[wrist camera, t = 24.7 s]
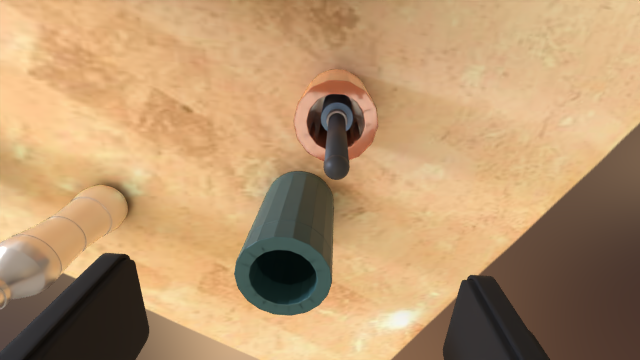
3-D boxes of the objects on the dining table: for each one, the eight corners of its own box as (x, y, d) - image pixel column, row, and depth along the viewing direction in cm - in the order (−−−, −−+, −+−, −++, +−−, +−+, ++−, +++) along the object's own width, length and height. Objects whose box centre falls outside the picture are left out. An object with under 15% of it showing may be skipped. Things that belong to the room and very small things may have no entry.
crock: (305, 67, 39) (294, 77, 29) (371, 71, 39) (383, 83, 29) (303, 130, 42) (292, 159, 32) (364, 134, 42) (373, 164, 32)
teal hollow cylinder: (266, 168, 45) (231, 233, 30) (336, 173, 44) (335, 241, 30) (267, 228, 48) (236, 311, 34) (331, 232, 48) (328, 318, 33)
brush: (324, 89, 40) (311, 144, 19) (351, 91, 40) (366, 147, 19) (323, 116, 41) (308, 193, 21) (349, 117, 41) (360, 197, 21)
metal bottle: (134, 185, 47) (3, 283, 28) (133, 226, 49) (12, 339, 31) (88, 174, 46) (-76, 265, 28) (89, 216, 49) (-59, 323, 31)
